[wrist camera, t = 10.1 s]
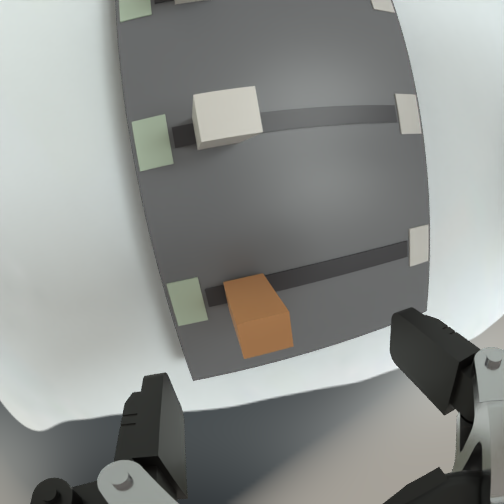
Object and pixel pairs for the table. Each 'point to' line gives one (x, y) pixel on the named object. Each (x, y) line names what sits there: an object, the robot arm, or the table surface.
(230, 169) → the panel
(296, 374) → the table surface
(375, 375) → the table surface
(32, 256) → the table surface
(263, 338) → the block
